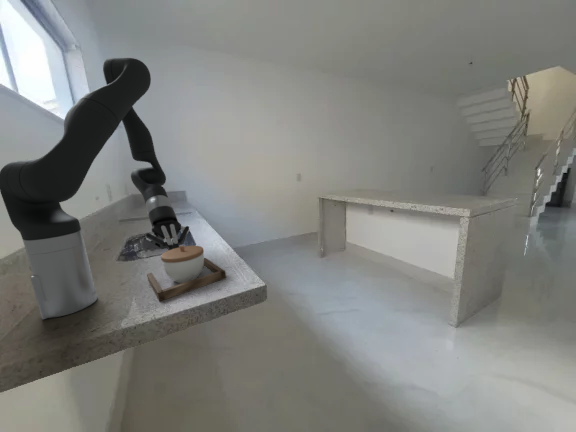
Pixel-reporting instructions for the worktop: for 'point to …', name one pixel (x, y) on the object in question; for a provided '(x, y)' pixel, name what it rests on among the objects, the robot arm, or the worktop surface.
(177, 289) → the walnut bay
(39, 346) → the worktop surface
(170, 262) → the lidded jar
